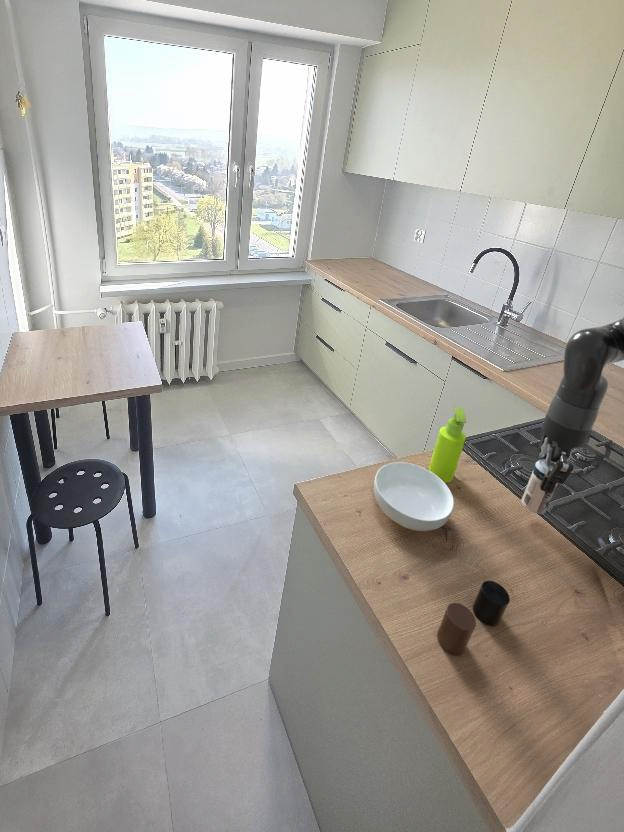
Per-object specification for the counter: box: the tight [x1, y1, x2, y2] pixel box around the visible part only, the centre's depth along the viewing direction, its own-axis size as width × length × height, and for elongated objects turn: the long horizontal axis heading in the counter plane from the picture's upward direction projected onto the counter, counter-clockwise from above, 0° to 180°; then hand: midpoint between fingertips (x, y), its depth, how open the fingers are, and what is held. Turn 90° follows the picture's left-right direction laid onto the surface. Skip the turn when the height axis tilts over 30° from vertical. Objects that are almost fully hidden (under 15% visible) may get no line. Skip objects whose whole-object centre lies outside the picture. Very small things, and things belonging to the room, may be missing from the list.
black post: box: [472, 580, 511, 627], centre depth 75 cm, size 4×4×6 cm
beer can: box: [520, 459, 559, 515], centre depth 92 cm, size 5×5×12 cm
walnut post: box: [436, 602, 477, 657], centre depth 70 cm, size 4×4×7 cm
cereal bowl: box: [373, 461, 455, 532], centre depth 95 cm, size 17×17×7 cm
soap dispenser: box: [427, 407, 467, 483], centre depth 104 cm, size 6×7×20 cm
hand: (543, 481), depth 91 cm, fingers closed on beer can, 4 cm apart
